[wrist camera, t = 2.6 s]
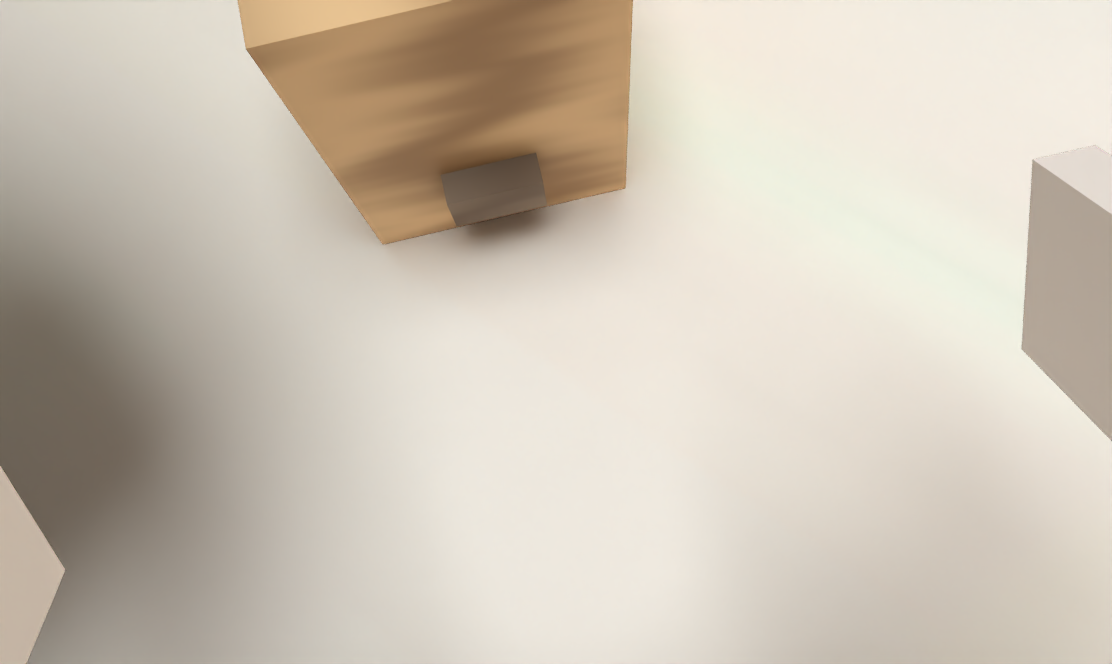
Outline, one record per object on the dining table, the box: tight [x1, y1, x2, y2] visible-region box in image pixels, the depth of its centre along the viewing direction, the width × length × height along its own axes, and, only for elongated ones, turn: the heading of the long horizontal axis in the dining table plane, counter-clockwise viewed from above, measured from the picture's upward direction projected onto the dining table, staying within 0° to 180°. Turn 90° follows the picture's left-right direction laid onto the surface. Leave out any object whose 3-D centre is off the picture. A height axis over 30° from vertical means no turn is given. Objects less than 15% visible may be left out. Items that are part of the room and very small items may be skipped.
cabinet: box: [238, 0, 633, 244], centre depth 24 cm, size 7×7×11 cm
